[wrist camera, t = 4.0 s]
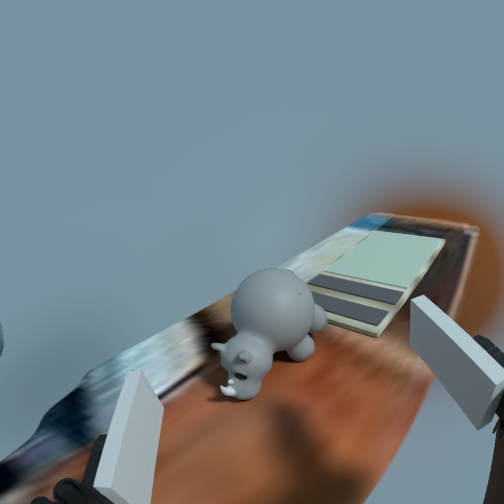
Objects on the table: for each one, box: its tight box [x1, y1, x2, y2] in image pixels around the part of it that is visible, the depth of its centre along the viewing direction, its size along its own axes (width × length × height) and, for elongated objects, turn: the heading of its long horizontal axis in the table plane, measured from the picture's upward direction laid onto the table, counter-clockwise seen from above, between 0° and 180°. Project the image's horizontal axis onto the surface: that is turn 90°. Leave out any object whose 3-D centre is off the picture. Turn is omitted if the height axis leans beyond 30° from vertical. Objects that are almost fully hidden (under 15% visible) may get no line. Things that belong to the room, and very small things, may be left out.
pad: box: [324, 231, 442, 289], centre depth 41 cm, size 15×12×1 cm
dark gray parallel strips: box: [308, 274, 404, 326], centre depth 34 cm, size 6×12×1 cm, turn 42°
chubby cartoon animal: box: [211, 268, 328, 400], centre depth 26 cm, size 7×12×8 cm, turn 139°
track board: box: [305, 231, 445, 338], centre depth 39 cm, size 24×13×1 cm, turn 132°
